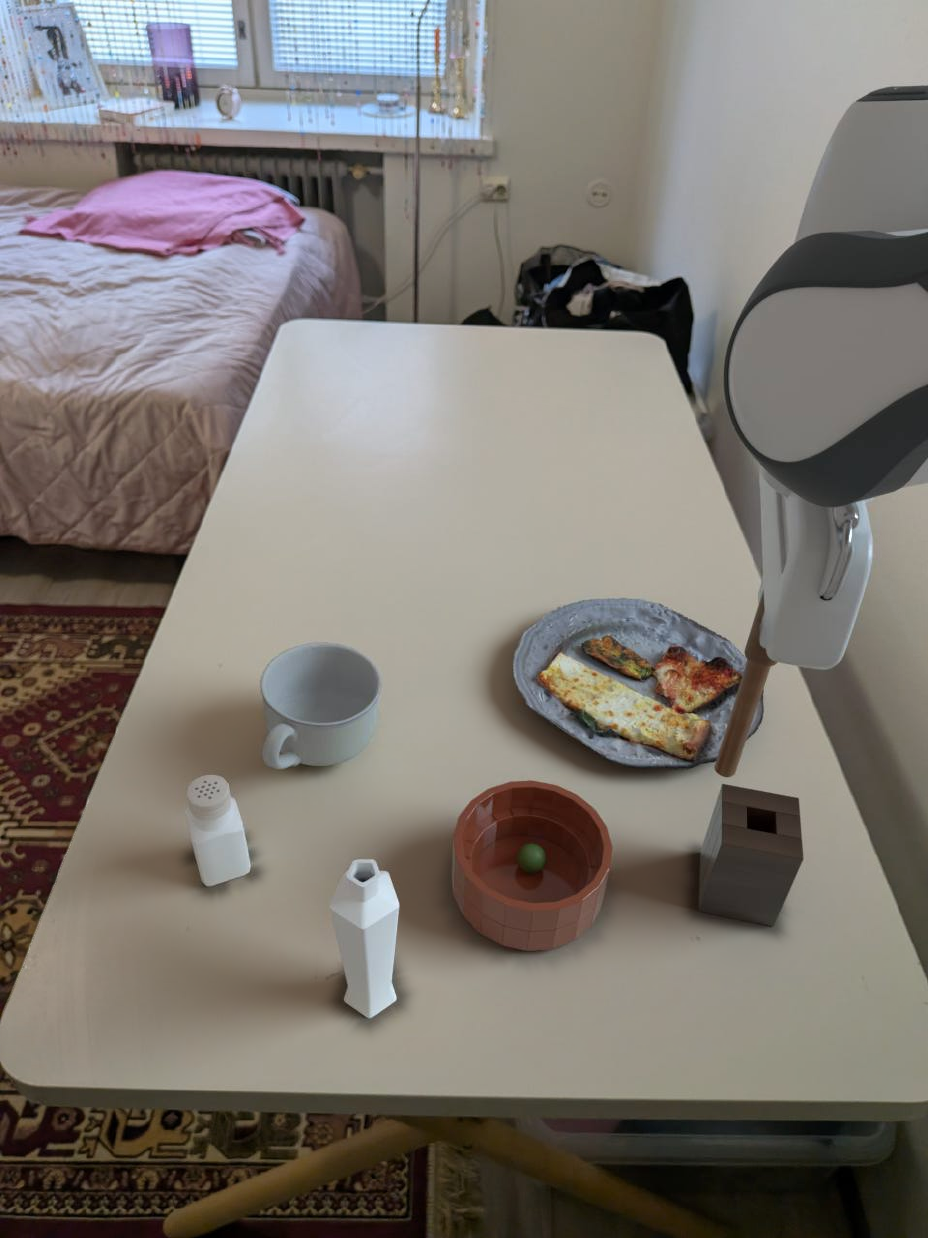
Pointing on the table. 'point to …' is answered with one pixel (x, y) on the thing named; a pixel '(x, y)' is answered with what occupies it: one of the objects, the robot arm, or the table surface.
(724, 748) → the stirring stick
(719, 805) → the utensil block
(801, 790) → the table surface
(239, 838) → the salt shaker
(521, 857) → the bead
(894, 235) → the robot arm
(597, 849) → the bowl
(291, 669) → the teacup
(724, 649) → the food plate
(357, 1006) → the white faceted bottle
